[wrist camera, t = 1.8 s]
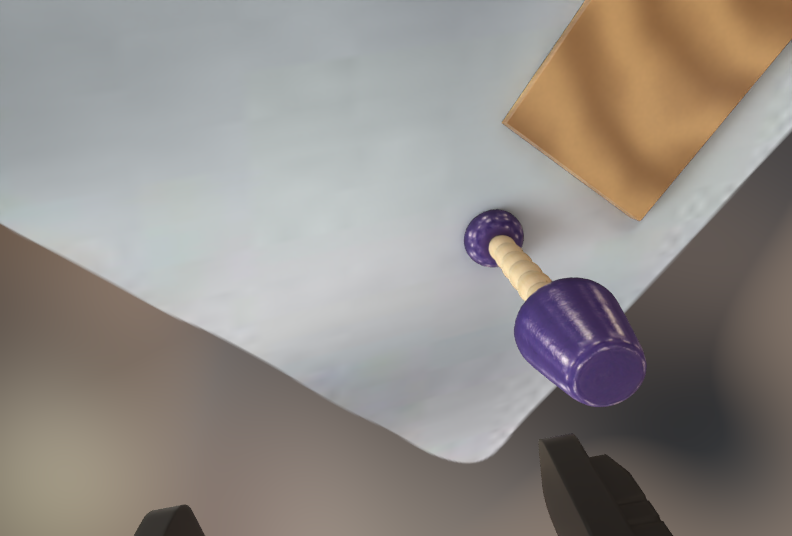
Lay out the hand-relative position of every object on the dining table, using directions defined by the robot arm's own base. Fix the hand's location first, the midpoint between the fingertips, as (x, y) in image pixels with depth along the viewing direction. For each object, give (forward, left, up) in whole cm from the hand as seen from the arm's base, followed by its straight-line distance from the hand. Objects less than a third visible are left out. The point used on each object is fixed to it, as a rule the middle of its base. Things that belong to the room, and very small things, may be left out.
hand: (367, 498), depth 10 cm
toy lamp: (+4, +8, -22) cm, 24 cm away
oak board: (-4, +23, -22) cm, 32 cm away
